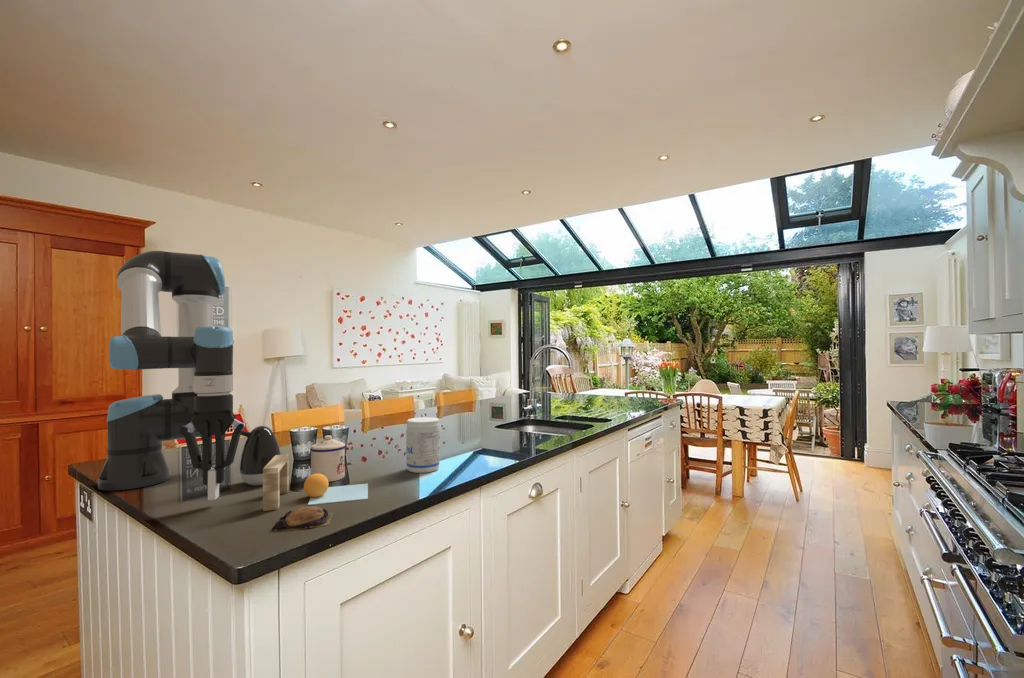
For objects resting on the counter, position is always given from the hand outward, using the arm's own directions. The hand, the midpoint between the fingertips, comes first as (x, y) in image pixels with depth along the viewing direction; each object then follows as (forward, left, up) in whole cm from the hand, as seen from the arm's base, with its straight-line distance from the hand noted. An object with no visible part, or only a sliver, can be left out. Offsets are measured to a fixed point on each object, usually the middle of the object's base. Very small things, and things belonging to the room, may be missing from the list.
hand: (213, 498), depth 105 cm
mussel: (+18, +21, -3) cm, 27 cm away
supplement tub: (-17, +49, -2) cm, 52 cm away
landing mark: (0, +27, -2) cm, 27 cm away
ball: (0, +22, +1) cm, 22 cm away
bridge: (0, +13, -2) cm, 13 cm away
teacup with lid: (-18, +23, -2) cm, 29 cm away
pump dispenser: (-18, +6, -2) cm, 19 cm away
